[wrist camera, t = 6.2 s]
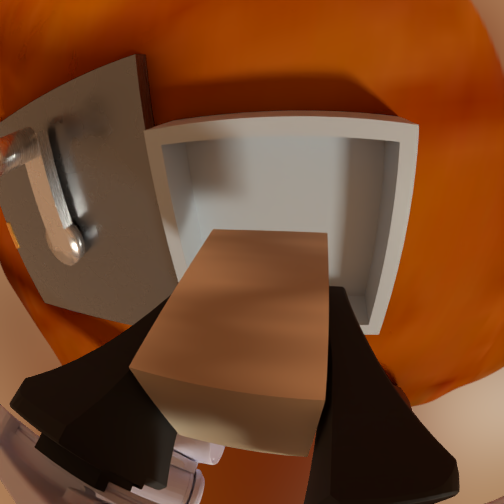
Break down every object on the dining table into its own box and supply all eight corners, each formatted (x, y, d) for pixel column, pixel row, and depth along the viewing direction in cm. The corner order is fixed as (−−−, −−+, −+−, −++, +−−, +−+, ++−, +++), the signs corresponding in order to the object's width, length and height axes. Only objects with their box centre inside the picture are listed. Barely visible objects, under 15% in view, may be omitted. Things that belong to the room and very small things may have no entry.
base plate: (145, 54, 12) (134, 54, 11) (201, 328, 22) (196, 337, 22) (-11, 132, 16) (-19, 136, 15) (49, 297, 27) (44, 303, 26)
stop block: (327, 232, 9) (325, 400, 4) (320, 317, 11) (307, 456, 7) (213, 229, 10) (128, 367, 5) (227, 310, 12) (179, 435, 7)
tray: (398, 116, 11) (418, 125, 9) (373, 300, 17) (378, 334, 15) (172, 120, 14) (143, 130, 11) (205, 290, 20) (190, 320, 18)
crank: (91, 259, 19) (36, 320, 13) (63, 257, 20) (12, 309, 14) (48, 102, 13) (-38, 134, 7) (21, 117, 13) (-52, 150, 8)
